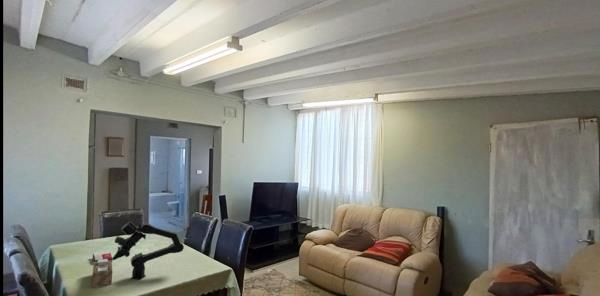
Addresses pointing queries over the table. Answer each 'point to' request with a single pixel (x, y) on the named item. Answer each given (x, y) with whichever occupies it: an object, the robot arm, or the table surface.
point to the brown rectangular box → (102, 275)
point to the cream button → (103, 269)
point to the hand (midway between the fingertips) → (112, 259)
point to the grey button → (103, 262)
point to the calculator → (101, 256)
